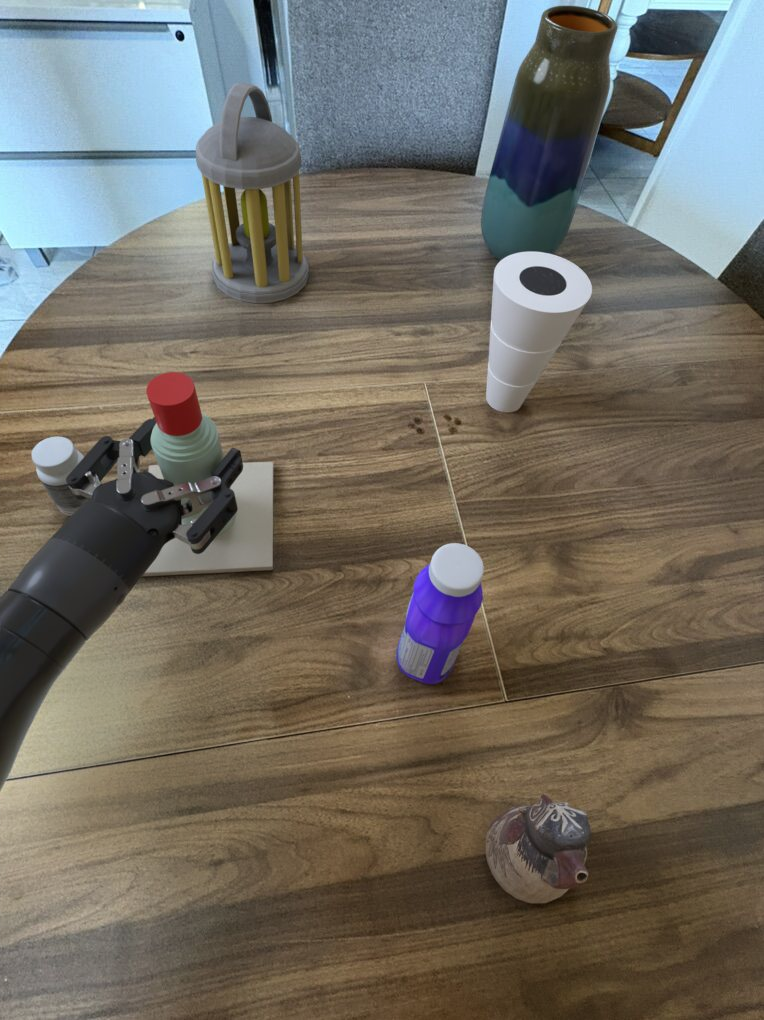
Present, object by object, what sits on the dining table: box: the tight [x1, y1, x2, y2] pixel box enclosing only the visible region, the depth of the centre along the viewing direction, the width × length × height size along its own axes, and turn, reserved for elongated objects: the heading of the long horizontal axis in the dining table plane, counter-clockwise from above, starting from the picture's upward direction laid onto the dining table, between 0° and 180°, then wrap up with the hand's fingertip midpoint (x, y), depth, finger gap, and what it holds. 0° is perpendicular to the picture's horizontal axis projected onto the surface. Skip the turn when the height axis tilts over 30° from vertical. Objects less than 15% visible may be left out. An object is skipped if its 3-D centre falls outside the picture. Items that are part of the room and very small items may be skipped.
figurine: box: [485, 794, 592, 904], centre depth 46 cm, size 7×7×12 cm
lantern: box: [195, 81, 310, 304], centre depth 82 cm, size 14×14×25 cm
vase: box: [480, 5, 618, 262], centre depth 87 cm, size 14×14×31 cm
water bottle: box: [151, 412, 236, 536], centre depth 59 cm, size 6×6×18 cm
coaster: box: [142, 461, 275, 577], centre depth 67 cm, size 14×14×1 cm
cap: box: [145, 371, 203, 436], centre depth 53 cm, size 4×4×4 cm
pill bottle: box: [30, 436, 91, 517], centre depth 64 cm, size 5×5×8 cm
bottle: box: [396, 542, 485, 685], centre depth 53 cm, size 7×6×17 cm
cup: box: [485, 252, 593, 414], centre depth 74 cm, size 11×11×18 cm
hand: (199, 438), depth 59 cm, fingers open, 8 cm apart
